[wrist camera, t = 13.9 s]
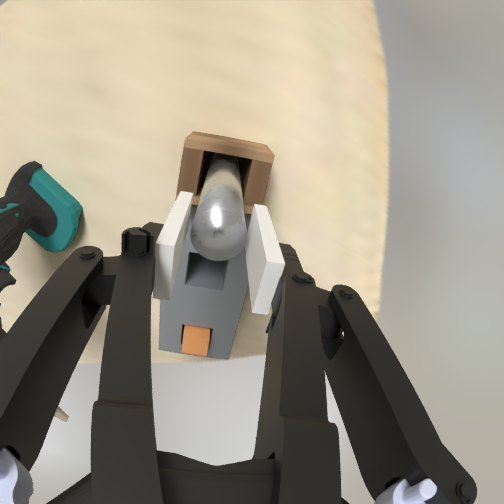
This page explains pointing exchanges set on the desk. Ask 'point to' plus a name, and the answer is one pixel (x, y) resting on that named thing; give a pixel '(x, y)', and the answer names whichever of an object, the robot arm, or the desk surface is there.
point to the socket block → (204, 299)
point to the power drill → (35, 220)
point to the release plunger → (195, 340)
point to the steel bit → (220, 212)
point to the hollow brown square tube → (254, 152)
